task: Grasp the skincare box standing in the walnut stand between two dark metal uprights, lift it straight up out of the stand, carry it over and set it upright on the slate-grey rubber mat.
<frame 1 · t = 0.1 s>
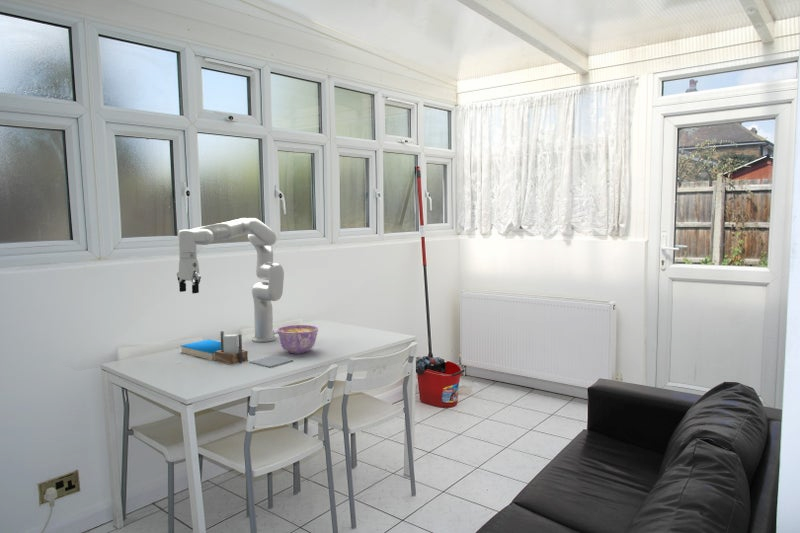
hand: (189, 292, 256), 31 cm above the table, tool pointing down, fingers open, 9 cm apart
bowl of food: (298, 352, 270), on the table
skincare box: (231, 361, 253), resting in bottle stand
bottle stand: (231, 360, 253), on the table
book: (210, 353, 268), on the table
mat: (271, 362, 251), on the table
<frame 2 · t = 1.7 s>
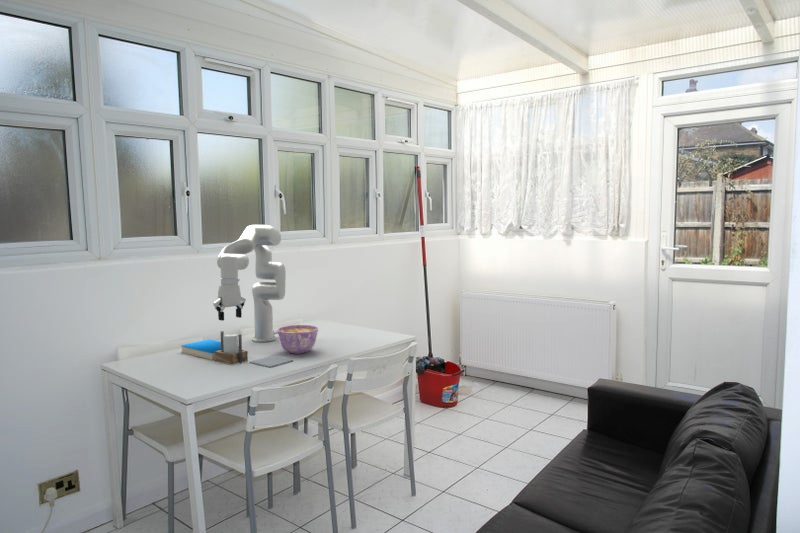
hand: (230, 318, 251), 20 cm above the table, tool pointing down, fingers open, 9 cm apart
nothing on the table moved.
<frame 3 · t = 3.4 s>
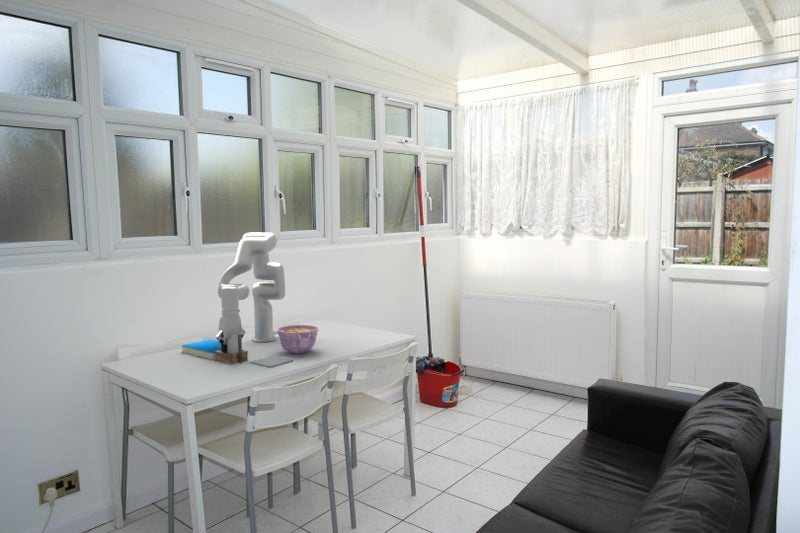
hand: (231, 350, 253), 5 cm above the table, tool pointing down, fingers closed on skincare box, 6 cm apart
skincare box: (231, 361, 253), resting in bottle stand, touching gripper
everything else where it was.
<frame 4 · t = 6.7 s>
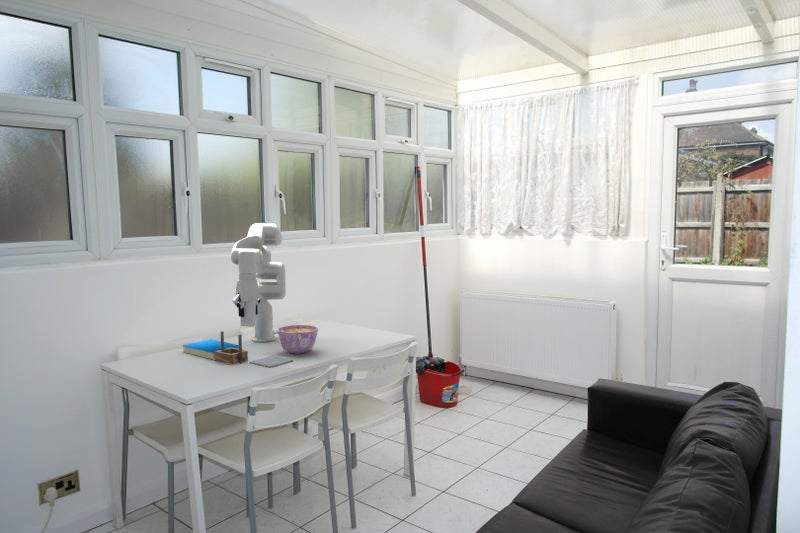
hand: (248, 315, 250), 22 cm above the table, tool pointing down, fingers closed on skincare box, 6 cm apart
skincare box: (247, 326, 250), point 16 cm above the table, touching gripper
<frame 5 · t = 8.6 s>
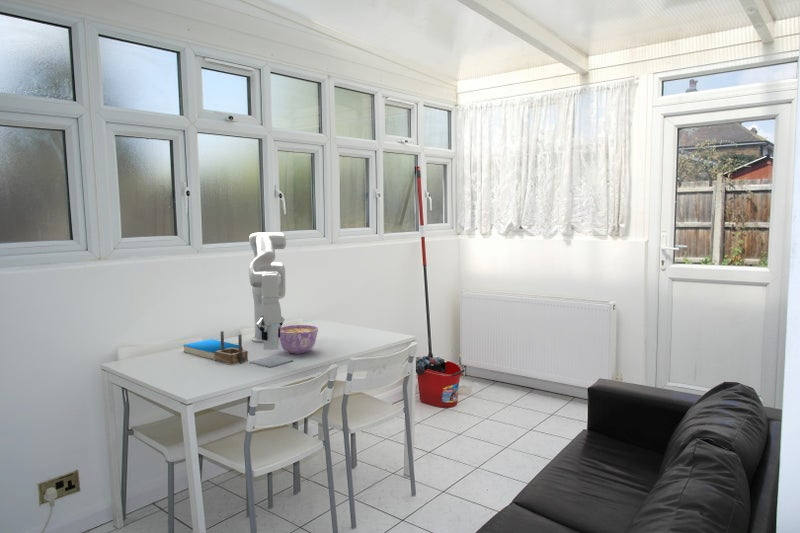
hand: (270, 338, 250), 11 cm above the table, tool pointing down, fingers closed on skincare box, 6 cm apart
skincare box: (270, 349, 250), point 6 cm above the table, touching gripper
when the fingers open (7 cm above the table, at t = 10.0 s): skincare box stays where it is, resting on mat.
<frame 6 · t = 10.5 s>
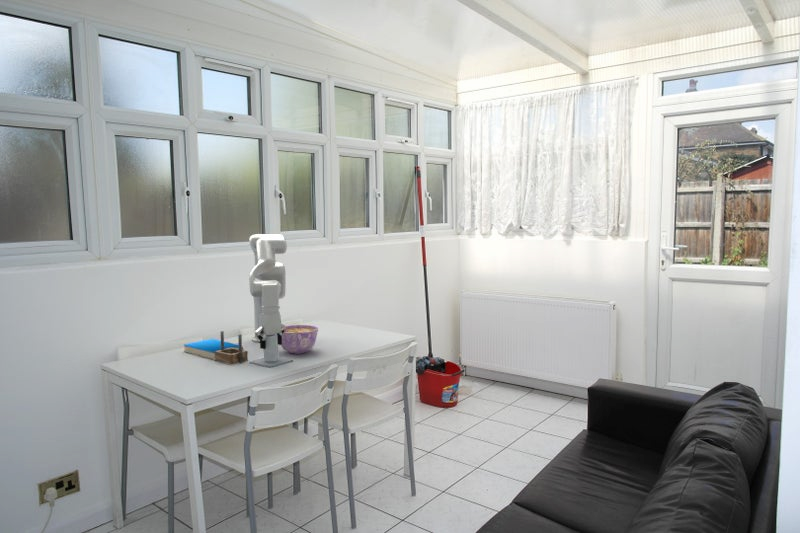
hand: (271, 346, 250), 7 cm above the table, tool pointing down, fingers open, 9 cm apart
skincare box: (270, 361, 251), resting on mat
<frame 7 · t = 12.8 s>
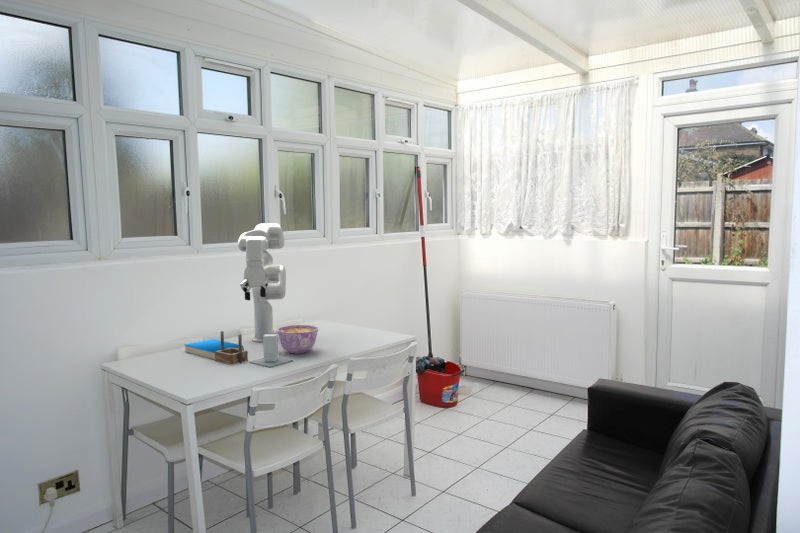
hand: (255, 298, 265), 27 cm above the table, tool pointing down, fingers open, 9 cm apart
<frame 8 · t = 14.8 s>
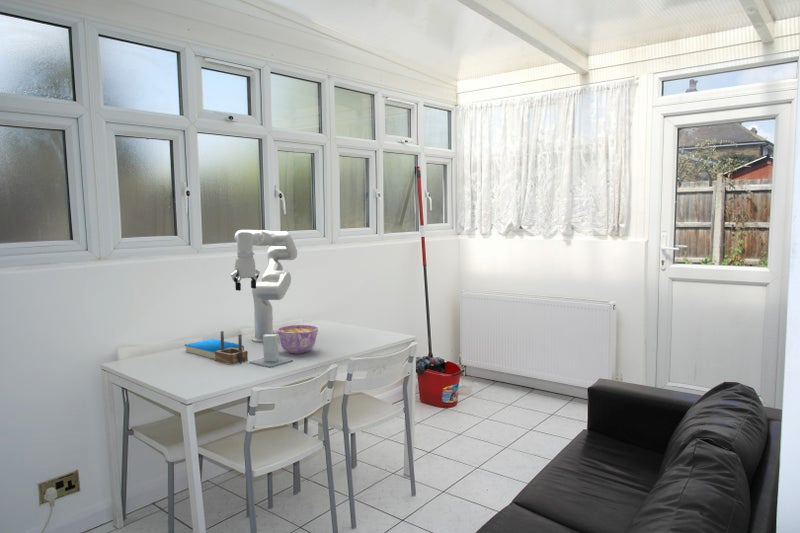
hand: (246, 289, 274), 30 cm above the table, tool pointing down, fingers open, 9 cm apart
at the end: skincare box inside the target area on the mat (0.2 cm from its centre), point 0.4 cm above the mat's base; skincare box tilted 0°; the gripper is holding nothing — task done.
